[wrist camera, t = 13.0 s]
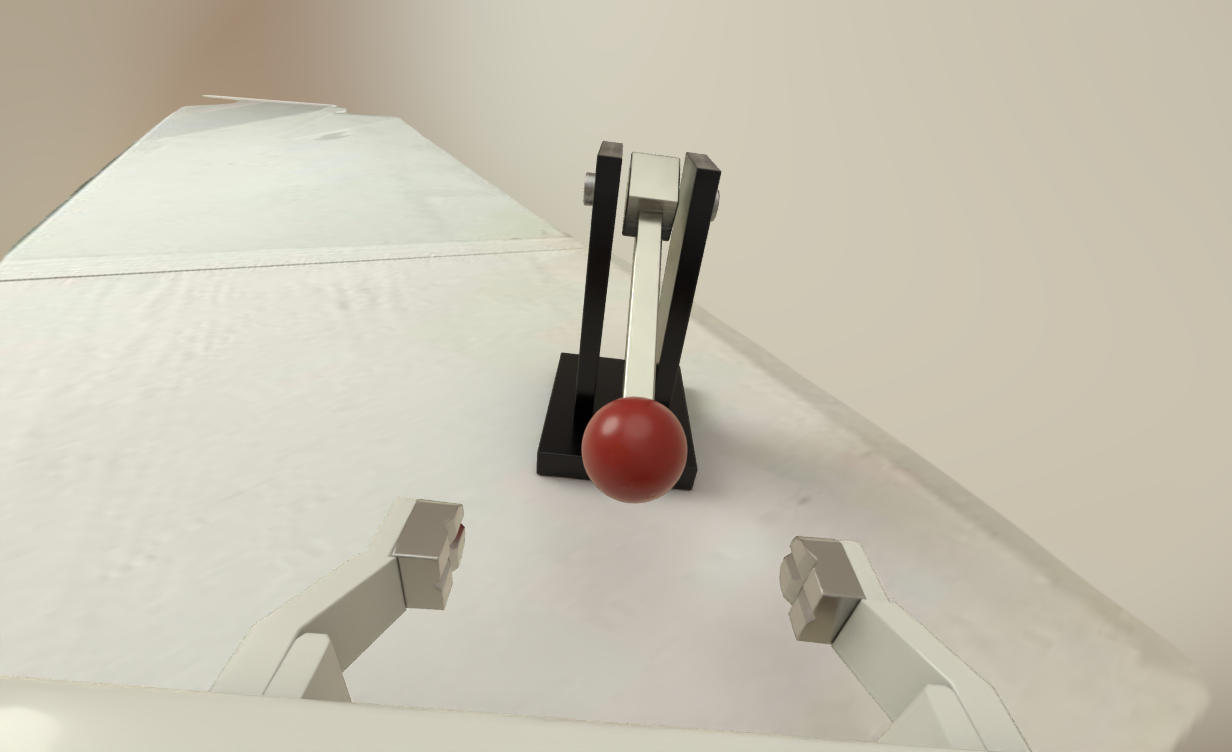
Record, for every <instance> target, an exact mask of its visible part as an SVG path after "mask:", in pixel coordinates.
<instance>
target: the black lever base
mask: <svg viewBox="0 0 1232 752" xmlns="http://www.w3.org/2000/svg"><path fill="white" fill-rule="evenodd" d="M622 156H623V144H622V143H615V142H607V141H603V142H602V144H601V147H600V150H599V153H598V155H597V164H596V173H587V174H586V178H585V187H584V199H583V202H584V205H587V206H593V208H592V219H591V230H590V242H589V252H588V263H587V274H586V285H585V296H584V307H583V318H582V329H581V340H580V352H579V354H570V353H561V356H560V360H559V364H558V368H557V372H556V377H555V381H554V385H553V389H552V393H551V397H550V402H549V406H548V410H547V414H546V418H545V422H544V427H543V431H542V435H541V439H540V443H539V448H538V452H537V472H536V473H537V474H540V475H550V476H560V477H570V478H579V479H589V480H591V479H590V478H589V476H588V474H587V472H586V470H585V467H584V464H583V460H582V450H581V449H582V440H583V435H584V432H585V429H586V427H587V425H588V423H589V421H590V420H591V418H592V417H593V416H594V415H595V413H596V412H597V411H598V410H599V409H601V408H602V407H603V406H605V405H606V404H608V403H610V402H612V401H614V400H616V399H619V398H622V386H623V374H624V362H625V360H622V359H614V358H605V357H599V355H600V346H601V338H602V329H603V320H604V312H605V303H606V295H607V286H608V277H609V269H610V260H611V251H612V243H613V234H614V225H615V217H616V209H617V200H618V191H619V182H620V174H621V165H622ZM720 176H721V171H720V170H719V168H717V166H716V165H715V164H714V163H713V162H712V161H711V159H710V158H709V157H708V156H707V155H704V154H697V153H689V152H687V153H686V157H685V162H684V168H683V174H682V179H681V184H680V190H679V205H678V208H677V212H676V216H675V220H674V223H673V229H672V234H671V241H670V246H669V252H668V257H667V263H666V268H665V273H664V279H663V285H662V290H661V296H660V301H659V312H658V333H657V354H656V374H655V395H654V401H657V402H659V403H660V404H662V405H664V406H665V407H666V408H668V409H669V410H670V411H671V412H672V413H673V414H674V415H675V416H676V418H677V419H678V421H679V422H680V424H681V426H682V428H683V430H684V433H685V436H686V441H687V460H686V464H685V467H684V470H683V472H682V474H681V476H680V478H679V480H678V481H677V482H676V484H675V485H674V486H673V487H672V488H676V489H686V490H692V487H693V484H694V480H695V477H696V473H697V463H696V457H695V452H694V446H693V440H692V434H691V428H690V422H689V416H688V410H687V405H686V399H685V393H684V387H683V381H682V375H681V369H680V366H679V363H680V358H681V353H682V349H683V344H684V340H685V335H686V331H687V326H688V322H689V317H690V312H691V308H692V303H693V298H694V294H695V290H696V285H697V280H698V276H699V271H700V267H701V262H702V257H703V253H704V248H705V244H706V239H707V235H708V230H709V226H710V221H711V222H712V221H714V219H715V217H716V214H717V210H718V206H719V197H720V195H719V190H718V185H719V180H720Z"/></svg>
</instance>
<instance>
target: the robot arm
mask: <svg viewBox="0 0 1232 752" xmlns="http://www.w3.org/2000/svg"><path fill="white" fill-rule="evenodd" d="M463 516H464V510H463V505H462V504H456V503H448V502H440V501H432V500H424V499H414V498H405V497H398V498H396V499H395V500H394V501H393V503H392V504H391V506H390V508H389V510H388V512H387V514H386V515H385V517H384V519H383V521H382V523H381V525H380V527H379V528H378V530H377V532H376V534H375V536H374V538H373V540H372V541H371V543H370V545H369V547H368V549H367V551H366V552H365V554H360V553H358V554H357V555H355V556H354V557H352V558H351V559H349V560H348V561H346V562H345V563H343V564H342V565H341V566H339V567H338V568H336V569H335V570H333V571H332V572H330V573H329V574H327V575H326V576H325V577H323V578H322V579H320V580H319V581H317V582H316V583H314V584H313V585H311V586H310V587H308V588H307V589H306V590H304V591H303V592H301V593H300V594H298V595H297V596H295V597H294V598H292V599H291V600H289V601H288V602H287V603H285V604H284V605H282V606H281V607H279V608H278V609H276V610H275V611H273V612H272V613H270V614H269V615H268V616H266V617H265V618H263V619H262V620H260V621H259V622H257V623H256V624H254V625H253V626H252V627H251V629H250V630H249V632H248V633H247V635H246V636H245V638H244V639H243V641H242V642H241V644H240V645H239V646H238V648H237V649H236V651H235V652H234V654H233V655H232V657H231V658H230V660H229V661H228V663H227V664H226V666H225V667H224V669H223V670H222V672H221V673H220V675H219V676H218V678H217V679H216V681H215V682H214V684H213V685H212V686H211V688H210V689H209V691H208V692H207V691H194V690H181V689H168V688H155V687H142V686H129V685H116V684H103V683H90V682H77V681H65V680H52V679H40V678H28V677H14V676H0V752H1032V751H1031V749H1030V748H1029V746H1028V744H1027V743H1026V741H1025V739H1024V738H1023V736H1022V734H1021V733H1020V731H1019V729H1018V728H1017V726H1016V724H1015V722H1014V721H1013V719H1012V717H1011V716H1010V714H1009V712H1008V711H1007V709H1006V707H1005V706H1004V704H1003V702H1002V701H1001V699H1000V697H999V695H998V694H997V692H996V690H995V689H994V688H993V687H992V686H991V685H990V684H989V683H988V682H986V681H985V680H984V679H983V678H982V677H981V676H980V675H978V674H977V673H976V672H975V671H974V670H973V669H972V668H970V667H969V666H968V665H967V664H966V663H965V662H964V661H962V660H961V659H960V658H959V657H958V656H957V655H956V654H954V653H953V652H952V651H951V650H950V649H949V648H947V647H946V646H945V645H944V644H943V643H942V642H941V641H939V640H938V639H937V638H936V637H935V636H934V635H933V634H931V633H930V632H929V631H928V630H927V629H926V628H925V627H923V626H922V625H921V624H920V623H919V622H918V621H916V620H915V619H914V618H913V617H912V616H911V615H910V614H908V613H907V612H906V611H905V610H904V609H903V608H902V607H900V606H899V605H898V604H897V603H896V602H890V601H889V599H888V597H887V595H886V593H885V591H884V589H883V587H882V585H881V583H880V581H879V579H878V577H877V575H876V573H875V571H874V569H873V567H872V565H871V563H870V561H869V559H868V557H867V556H866V554H865V552H864V550H863V548H862V546H861V545H860V544H859V543H858V542H856V541H845V540H835V539H826V538H814V537H802V536H796V537H795V538H794V539H793V540H792V542H791V544H790V548H791V551H792V553H791V554H789V555H787V556H786V557H784V559H783V561H782V564H781V566H780V577H779V578H780V586H781V590H782V593H783V597H784V598H785V599H786V600H787V601H788V602H789V603H790V604H791V605H792V607H791V609H790V611H789V617H790V620H791V624H792V627H793V630H794V633H795V637H796V640H797V641H806V642H815V643H823V644H832V646H831V647H832V648H833V649H834V650H835V652H836V653H837V654H838V655H839V657H840V658H841V659H842V660H843V662H844V663H845V664H846V665H847V667H848V668H849V669H850V670H851V671H852V673H853V674H854V675H855V676H856V678H857V679H858V680H859V681H860V683H861V684H862V685H863V686H864V688H865V689H866V690H867V691H868V692H869V694H870V695H871V696H872V697H873V699H874V700H875V701H876V702H877V704H878V705H879V706H880V707H881V709H882V710H883V711H884V712H885V713H886V715H887V716H888V717H889V718H890V720H891V721H892V722H893V723H892V724H891V725H890V726H889V727H888V729H887V730H886V731H885V732H884V733H883V734H882V735H881V737H880V738H879V740H878V743H877V742H864V741H851V740H838V739H824V738H811V737H798V736H785V735H772V734H759V733H746V732H733V731H720V730H707V729H694V728H681V727H668V726H655V725H642V724H629V723H615V722H602V721H589V720H576V719H563V718H549V717H536V716H523V715H510V714H497V713H483V712H470V711H457V710H444V709H431V708H418V707H404V706H391V705H378V704H365V703H352V701H351V698H350V695H349V692H348V690H347V687H346V684H345V681H344V678H343V675H342V672H343V671H344V670H345V669H346V668H347V667H348V666H349V665H350V664H351V663H353V662H354V661H355V660H356V659H357V658H358V657H359V656H360V655H361V654H362V653H363V652H364V651H365V650H366V649H367V648H368V647H369V646H370V645H371V644H372V643H373V642H374V641H375V640H376V639H377V638H378V637H379V636H380V635H381V634H382V633H383V632H384V631H385V630H386V629H387V628H388V627H389V626H390V625H391V624H392V623H393V622H394V621H395V620H397V619H398V618H399V617H400V616H401V615H402V614H403V613H404V612H405V611H406V608H418V609H435V610H444V608H445V605H446V602H447V599H448V596H449V593H450V590H451V587H452V585H453V581H452V572H453V571H454V570H455V569H457V568H458V567H459V564H460V560H461V557H462V553H463V548H464V543H465V527H464V526H463V525H462V524H461V521H462V519H463Z"/></svg>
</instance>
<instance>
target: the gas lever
mask: <svg viewBox="0 0 1232 752" xmlns="http://www.w3.org/2000/svg"><path fill="white" fill-rule="evenodd" d="M679 183H680V159H679V158H675V157H668V156H661V155H653V154H645V153H637V152H632V154H631V162H630V168H629V176H628V183H627V190H626V199H625V209H624V220H623V230H622V234H623V235H624V236H631V237H635V241H634V253H633V265H632V277H631V289H630V301H629V313H628V325H627V337H626V350H625V362H624V374H623V386H622V398H619V399H616V400H614V401H612V402H610V403H608V404H606V405H605V406H603V407H602V408H601V409H599V410H598V411H597V412H596V413H595V415H594V416H593V417H592V418H591V420H590V421H589V423H588V425H587V427H586V429H585V432H584V435H583V440H582V449H581V450H582V460H583V464H584V467H585V470H586V472H587V474H588V476H589V478H590V479H591V481H592V482H593V483H594V485H595V486H596V487H597V488H598V489H599V490H600V491H602V492H603V493H604V494H606V495H607V496H609V497H611V498H613V499H615V500H618V501H621V502H626V503H644V502H648V501H652V500H654V499H657V498H659V497H660V496H662V495H664V494H665V493H666V492H668V491H669V490H670V489H671V488H672V487H673V486H674V485H675V484H676V482H677V481H678V480H679V478H680V476H681V474H682V472H683V470H684V467H685V464H686V460H687V441H686V436H685V433H684V430H683V428H682V426H681V424H680V422H679V421H678V419H677V418H676V416H675V415H674V414H673V413H672V412H671V411H670V410H669V409H668V408H666V407H665V406H664V405H662V404H660V403H659V402H657V401H654V395H655V374H656V354H657V333H658V312H659V291H660V270H661V250H662V249H661V248H662V241H668V240H669V238H670V235H671V231H672V227H673V223H674V220H675V216H676V212H677V208H678V205H679V186H680V185H679Z"/></svg>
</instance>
